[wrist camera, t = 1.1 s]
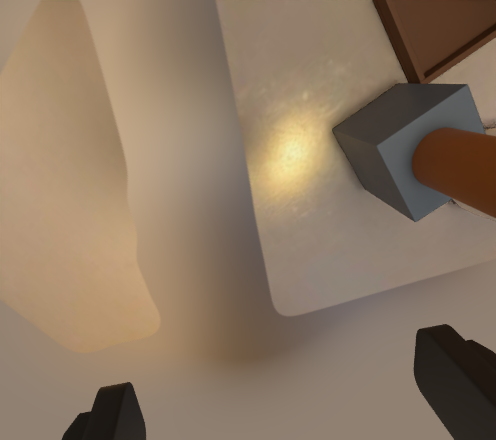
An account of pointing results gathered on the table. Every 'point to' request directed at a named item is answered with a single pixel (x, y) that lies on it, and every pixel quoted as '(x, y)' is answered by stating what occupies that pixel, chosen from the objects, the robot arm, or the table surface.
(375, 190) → the stand
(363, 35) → the table surface
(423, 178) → the amber bottle
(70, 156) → the table surface
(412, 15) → the tray
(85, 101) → the table surface
